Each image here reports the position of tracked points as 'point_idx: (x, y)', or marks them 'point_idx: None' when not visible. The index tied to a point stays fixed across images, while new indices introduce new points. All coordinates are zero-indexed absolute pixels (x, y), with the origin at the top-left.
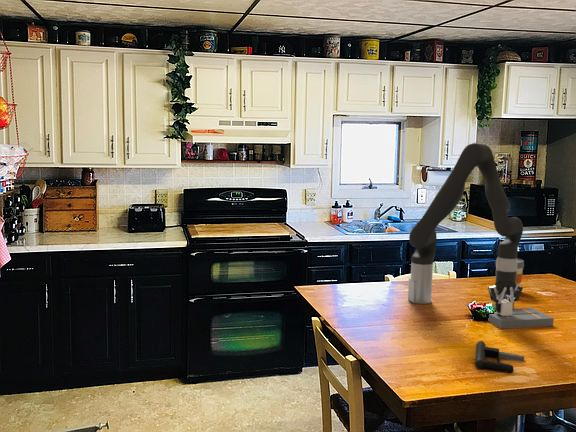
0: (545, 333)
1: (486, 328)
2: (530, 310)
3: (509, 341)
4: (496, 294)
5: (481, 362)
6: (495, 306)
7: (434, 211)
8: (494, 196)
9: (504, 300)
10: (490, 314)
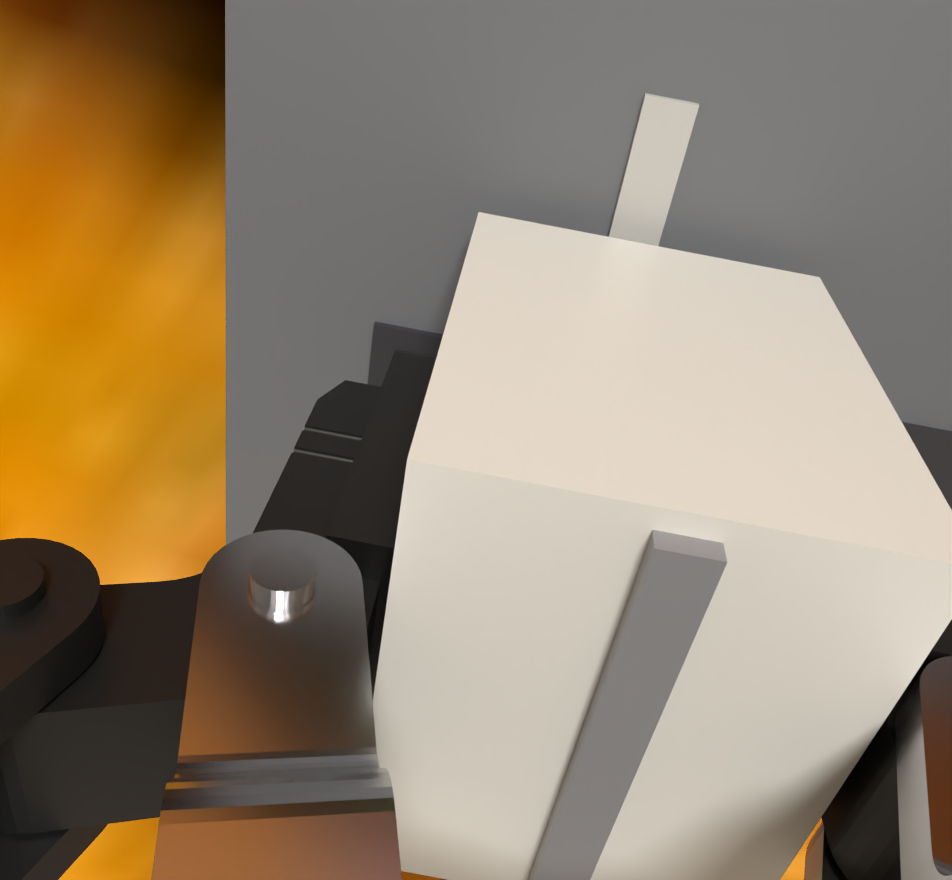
0: (786, 876)
1: (21, 472)
2: None
3: (110, 870)
4: (164, 858)
5: None
6: (287, 463)
7: None
8: None
9: (628, 746)
10: (243, 249)
